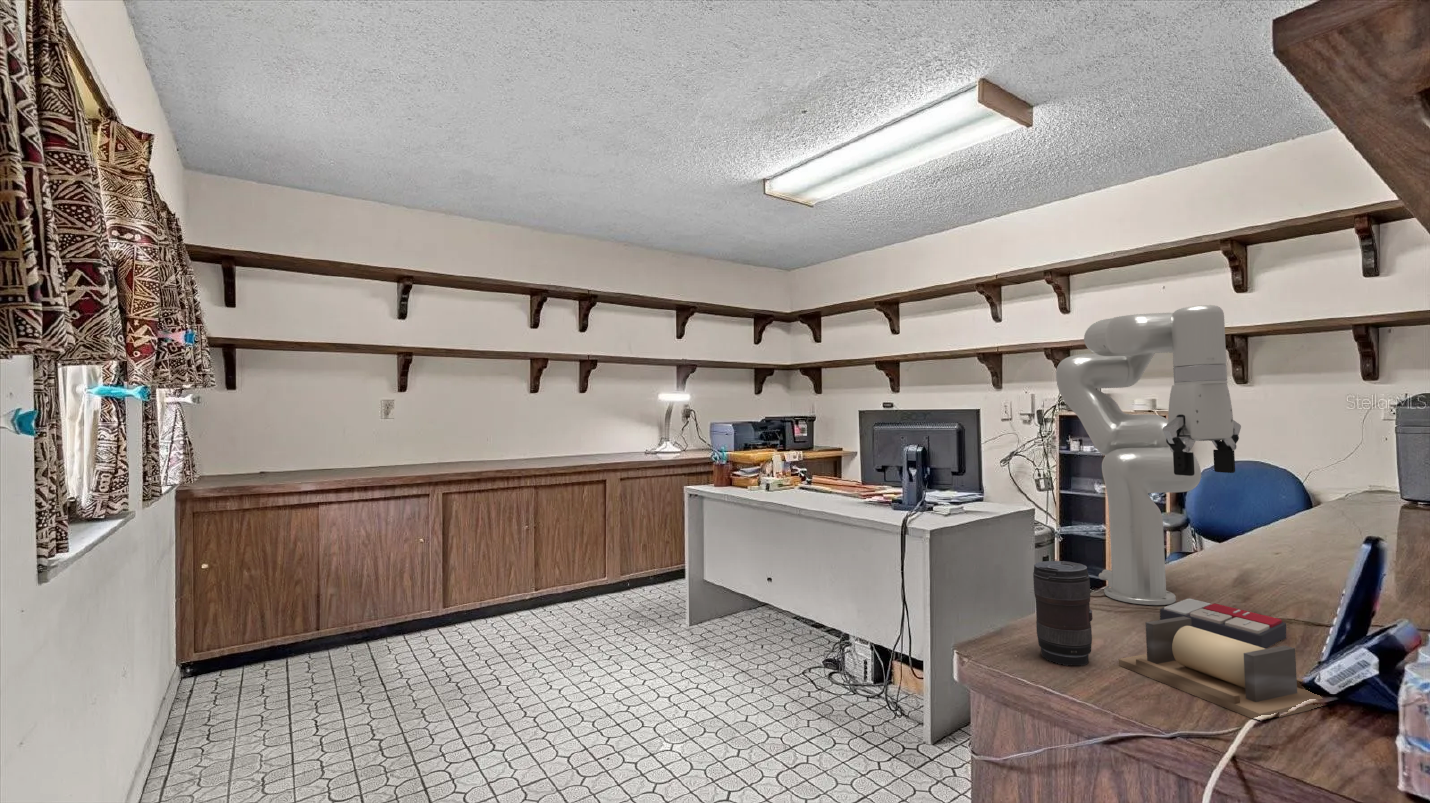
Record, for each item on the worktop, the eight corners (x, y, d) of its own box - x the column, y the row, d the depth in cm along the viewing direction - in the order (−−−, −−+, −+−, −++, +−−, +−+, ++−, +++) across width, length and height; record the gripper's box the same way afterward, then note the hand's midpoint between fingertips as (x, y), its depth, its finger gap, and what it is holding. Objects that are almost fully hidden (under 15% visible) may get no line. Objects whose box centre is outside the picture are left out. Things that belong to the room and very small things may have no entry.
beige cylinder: (1187, 674, 97) (1165, 647, 96) (1207, 643, 98) (1186, 617, 97) (1260, 701, 87) (1237, 672, 86) (1281, 667, 89) (1259, 638, 88)
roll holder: (1118, 665, 100) (1116, 620, 100) (1184, 653, 104) (1182, 609, 105) (1260, 721, 81) (1257, 665, 81) (1334, 704, 85) (1331, 651, 86)
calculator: (1261, 630, 105) (1158, 604, 117) (1260, 657, 105) (1158, 628, 117) (1287, 618, 110) (1187, 594, 123) (1287, 643, 110) (1186, 616, 123)
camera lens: (1053, 645, 109) (1049, 557, 110) (1103, 659, 103) (1099, 565, 103) (1026, 656, 105) (1022, 564, 105) (1076, 671, 98) (1072, 573, 99)
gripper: (1213, 377, 119) (1217, 469, 119) (1143, 378, 114) (1147, 474, 114) (1257, 374, 112) (1262, 472, 112) (1184, 375, 107) (1189, 478, 106)
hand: (1204, 473), depth 113 cm, fingers open, 9 cm apart
